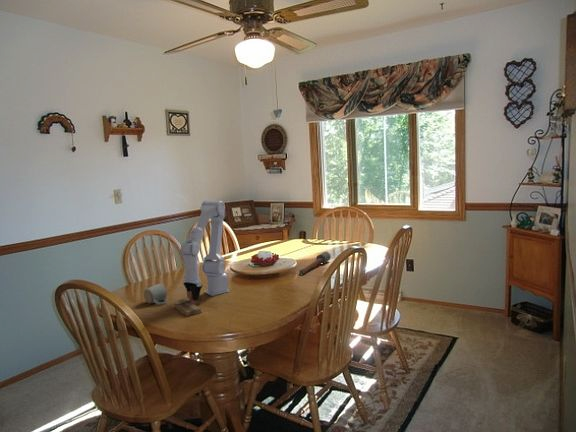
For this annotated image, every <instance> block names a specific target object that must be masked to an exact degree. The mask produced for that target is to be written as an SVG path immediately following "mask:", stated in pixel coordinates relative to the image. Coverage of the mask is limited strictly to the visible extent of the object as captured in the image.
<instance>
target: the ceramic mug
mask: <svg viewBox="0 0 576 432" xmlns="http://www.w3.org/2000/svg"><path fill="white" fill-rule="evenodd" d="M143 299H144V300H145V302H146V303H148V304H151V305H152V304H155V305H159V306H160V305H161V306H163V305H166V304H167V302H168V293H167V289H166V287H165V285H164V284H163V283H157V284H154V285H153V286H152V285H151V286H150V287H147V288H146V289H145V290H144V291H143Z"/></svg>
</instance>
